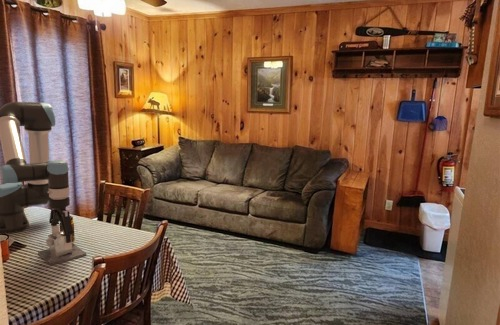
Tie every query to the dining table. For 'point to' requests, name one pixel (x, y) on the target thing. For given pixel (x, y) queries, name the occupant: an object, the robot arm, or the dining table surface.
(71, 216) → the condiment
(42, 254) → the plate
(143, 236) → the dining table surface
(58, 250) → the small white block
